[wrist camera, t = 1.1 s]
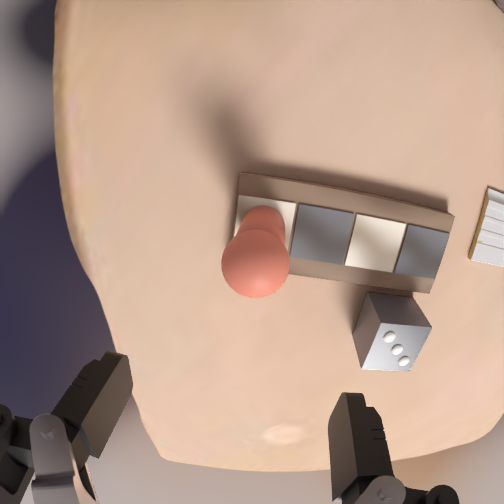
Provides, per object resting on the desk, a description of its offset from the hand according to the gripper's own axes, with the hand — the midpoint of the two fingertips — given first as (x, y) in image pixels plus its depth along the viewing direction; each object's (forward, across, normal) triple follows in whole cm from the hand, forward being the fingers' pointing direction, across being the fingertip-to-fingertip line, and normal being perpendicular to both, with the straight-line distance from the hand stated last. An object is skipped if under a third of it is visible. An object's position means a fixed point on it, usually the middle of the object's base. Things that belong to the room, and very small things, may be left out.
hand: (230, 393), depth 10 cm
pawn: (+20, 0, 0) cm, 20 cm away
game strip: (+22, -8, 0) cm, 23 cm away
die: (+22, -15, +9) cm, 28 cm away
